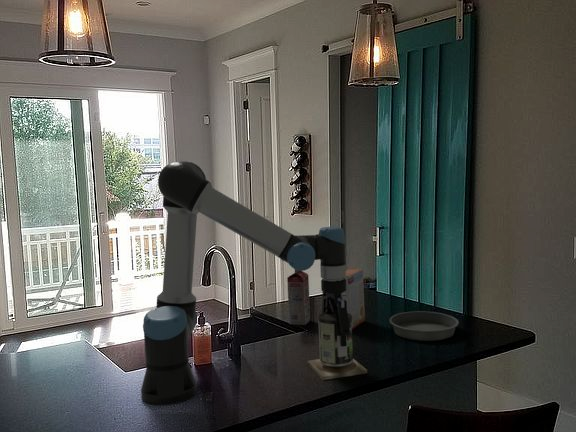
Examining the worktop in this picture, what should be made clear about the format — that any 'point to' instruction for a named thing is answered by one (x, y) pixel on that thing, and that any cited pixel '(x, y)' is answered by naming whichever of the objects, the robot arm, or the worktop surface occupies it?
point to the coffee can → (333, 341)
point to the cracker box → (355, 296)
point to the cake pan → (424, 325)
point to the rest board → (336, 369)
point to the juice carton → (298, 298)
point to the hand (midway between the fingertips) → (335, 350)
